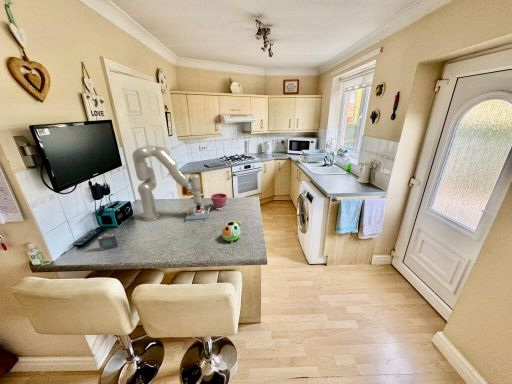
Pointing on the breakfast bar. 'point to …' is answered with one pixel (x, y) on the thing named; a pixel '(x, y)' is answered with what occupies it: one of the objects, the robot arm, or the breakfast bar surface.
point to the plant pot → (219, 200)
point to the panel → (198, 214)
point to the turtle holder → (231, 231)
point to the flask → (107, 242)
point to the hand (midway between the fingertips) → (198, 209)
